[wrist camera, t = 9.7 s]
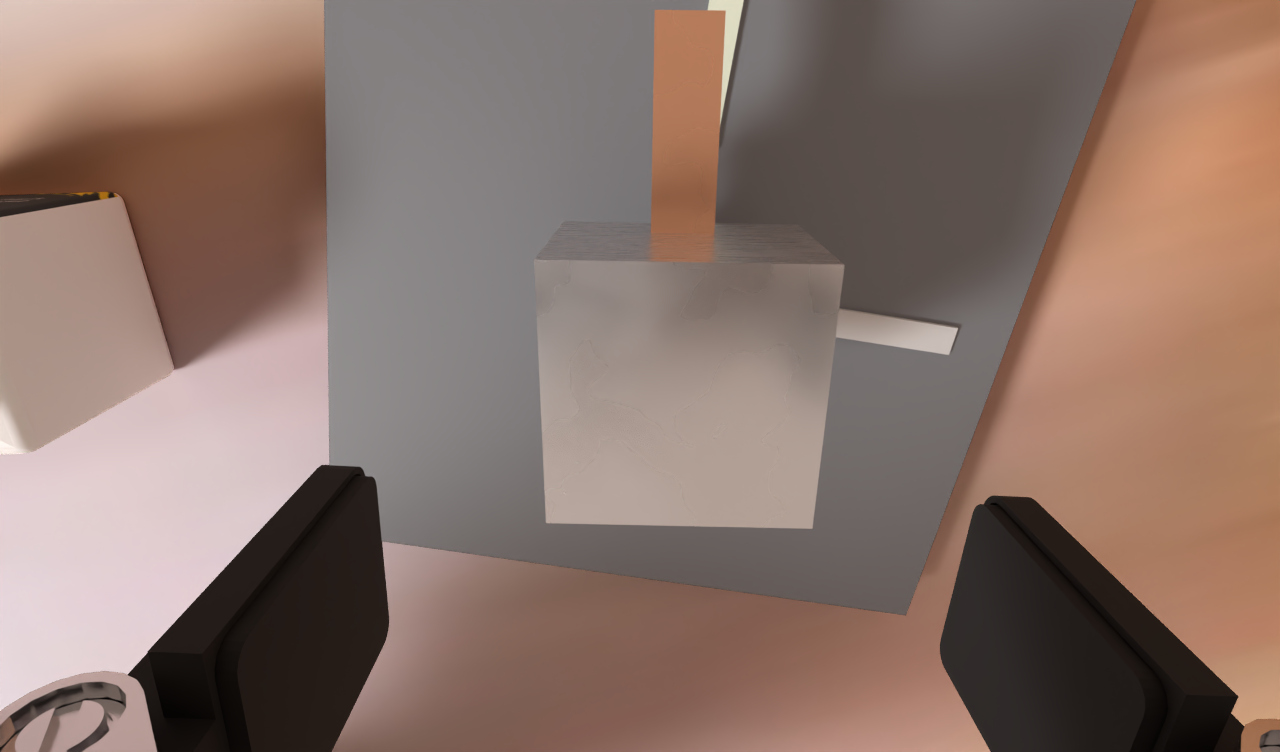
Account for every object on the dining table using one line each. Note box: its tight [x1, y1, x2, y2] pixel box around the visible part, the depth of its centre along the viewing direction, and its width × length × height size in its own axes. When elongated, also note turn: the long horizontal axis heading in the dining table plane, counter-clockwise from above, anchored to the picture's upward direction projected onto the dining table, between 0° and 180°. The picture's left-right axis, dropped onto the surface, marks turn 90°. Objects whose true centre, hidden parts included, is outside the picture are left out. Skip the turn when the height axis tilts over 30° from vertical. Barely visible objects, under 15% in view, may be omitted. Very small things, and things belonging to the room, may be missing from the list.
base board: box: [324, 0, 1136, 615], centre depth 25 cm, size 24×24×2 cm
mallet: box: [534, 10, 845, 529], centre depth 17 cm, size 6×11×5 cm, turn 179°
